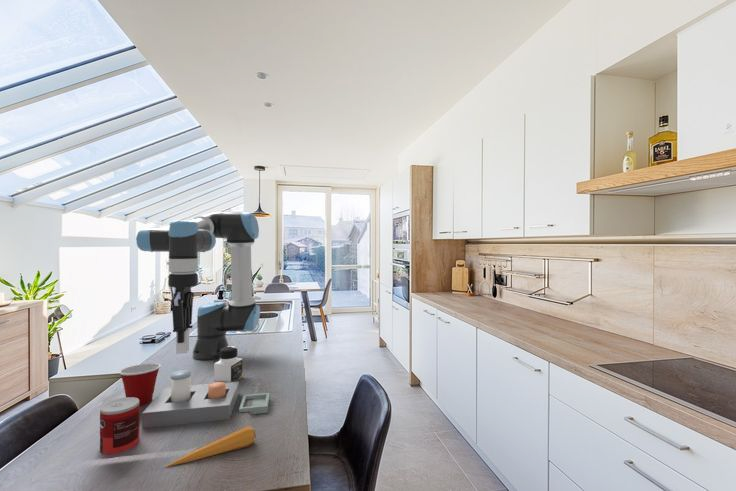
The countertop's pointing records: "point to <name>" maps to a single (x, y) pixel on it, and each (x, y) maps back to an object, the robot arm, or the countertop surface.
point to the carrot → (221, 445)
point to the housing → (190, 407)
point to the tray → (255, 403)
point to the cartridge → (180, 386)
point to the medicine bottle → (228, 365)
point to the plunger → (217, 390)
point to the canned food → (119, 425)
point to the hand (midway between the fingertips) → (182, 351)
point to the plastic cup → (140, 381)
